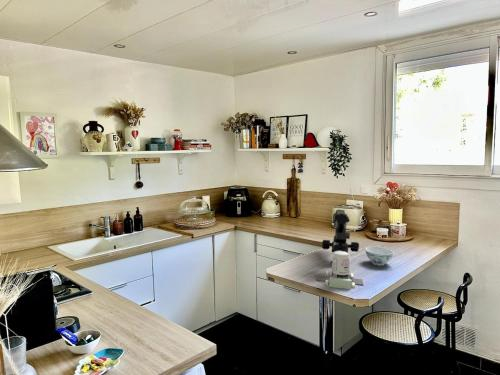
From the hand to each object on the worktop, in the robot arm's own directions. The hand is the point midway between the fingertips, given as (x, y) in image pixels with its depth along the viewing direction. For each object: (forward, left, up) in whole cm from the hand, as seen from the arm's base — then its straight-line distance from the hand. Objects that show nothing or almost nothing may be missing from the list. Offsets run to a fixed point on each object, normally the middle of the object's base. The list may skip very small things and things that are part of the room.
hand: (339, 260), depth 191 cm
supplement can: (+11, +4, -8) cm, 14 cm away
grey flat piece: (+8, +3, -7) cm, 12 cm away
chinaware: (-30, +12, -8) cm, 33 cm away
